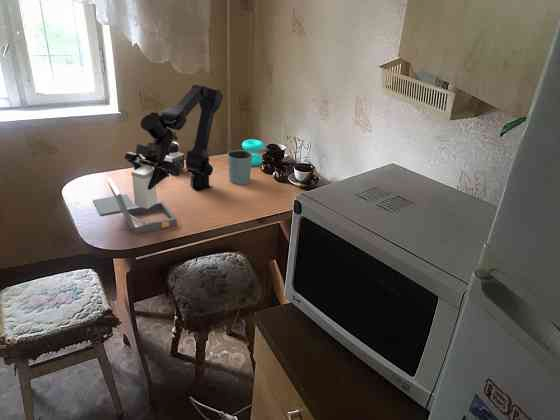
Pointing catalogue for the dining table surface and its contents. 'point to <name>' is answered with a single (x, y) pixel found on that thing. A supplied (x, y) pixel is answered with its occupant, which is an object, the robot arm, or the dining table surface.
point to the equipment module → (143, 187)
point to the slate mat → (111, 204)
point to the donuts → (254, 150)
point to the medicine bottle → (175, 156)
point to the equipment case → (137, 210)
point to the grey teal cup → (239, 166)
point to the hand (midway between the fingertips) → (141, 187)
